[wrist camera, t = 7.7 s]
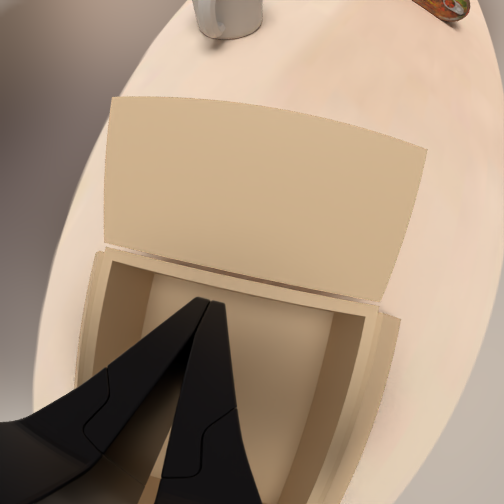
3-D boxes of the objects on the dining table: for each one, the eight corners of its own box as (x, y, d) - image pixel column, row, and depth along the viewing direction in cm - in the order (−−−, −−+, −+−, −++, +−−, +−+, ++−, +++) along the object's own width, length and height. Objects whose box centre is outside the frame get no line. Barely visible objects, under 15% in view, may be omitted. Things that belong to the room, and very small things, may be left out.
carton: (314, 535, 16) (325, 584, 9) (82, 476, 18) (43, 508, 11) (393, 314, 20) (447, 317, 13) (105, 252, 21) (50, 231, 14)
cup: (268, 12, 25) (269, -47, 17) (245, 59, 24) (240, -12, 15) (211, 7, 26) (202, -47, 17) (179, 54, 24) (158, -10, 16)
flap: (376, 295, 13) (380, 302, 12) (110, 238, 14) (104, 242, 13) (421, 148, 10) (427, 149, 10) (119, 97, 11) (111, 97, 10)
